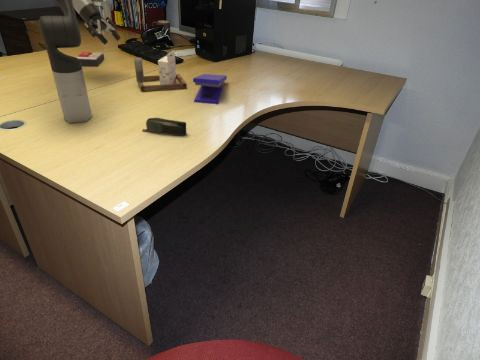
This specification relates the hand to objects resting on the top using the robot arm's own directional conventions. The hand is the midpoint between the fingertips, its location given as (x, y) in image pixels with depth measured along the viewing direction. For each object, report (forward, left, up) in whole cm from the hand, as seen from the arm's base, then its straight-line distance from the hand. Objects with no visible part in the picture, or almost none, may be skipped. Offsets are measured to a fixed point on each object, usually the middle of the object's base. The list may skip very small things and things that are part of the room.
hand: (113, 41), depth 145 cm
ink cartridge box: (-10, -21, -17) cm, 29 cm away
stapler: (-22, -38, -18) cm, 47 cm away
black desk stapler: (-57, -10, -18) cm, 61 cm away
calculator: (+32, +12, -18) cm, 38 cm away
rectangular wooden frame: (-10, -18, -17) cm, 27 cm away
